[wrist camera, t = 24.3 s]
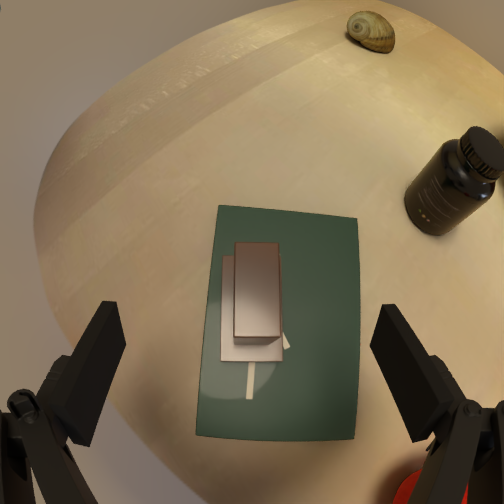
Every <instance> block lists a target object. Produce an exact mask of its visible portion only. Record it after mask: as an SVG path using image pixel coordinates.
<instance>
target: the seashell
mask: <svg viewBox="0 0 504 504" xmlns="http://www.w3.org/2000/svg"><path fill="white" fill-rule="evenodd" d="M347 30H348V33H349V34H350V35H351V37H353V38H354V39H356V40H358V41H360V43H361V44H362V45H364V46H365V47H367V48H369V49H371V50H375V51H377V52H383V53H389V52H391V51H392V50H393V48H394V45H395V33H394V30H393V28H392V26H391V25H390V24H389V22H388V21H387V20H386V19H385V18H384V17H382V16H381V15H379V14H377V13H375V12H371V11H360V12H357V13H355V14H353V15H352V16H351V17H350V18H349V20H348V22H347Z"/></svg>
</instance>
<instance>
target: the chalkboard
mask: <svg viewBox="0 0 504 504" xmlns="http://www.w3.org/2000/svg"><path fill="white" fill-rule="evenodd" d="M235 242H270V243H279V252H280V256H281V273H282V317H283V362H221V361H220V330H221V284H222V256H223V255H233V256H234V243H235ZM359 362H360V262H359V240H358V224H357V218H349V217H340V216H332V215H323V214H313V213H304V212H294V211H284V210H274V209H263V208H252V207H240V206H228V205H219V206H218V213H217V221H216V229H215V237H214V245H213V253H212V262H211V270H210V279H209V288H208V297H207V306H206V316H205V326H204V336H203V347H202V358H201V369H200V381H199V393H198V406H197V420H196V435H198V436H206V437H216V438H226V439H239V440H256V441H332V440H348V439H354V435H355V424H356V413H357V399H358V383H359Z"/></svg>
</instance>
